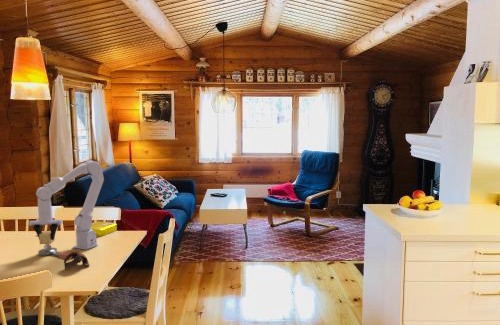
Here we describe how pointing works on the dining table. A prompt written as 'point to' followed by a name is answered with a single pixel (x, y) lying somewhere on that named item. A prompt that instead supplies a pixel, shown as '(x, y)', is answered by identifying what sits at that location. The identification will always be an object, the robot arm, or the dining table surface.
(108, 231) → the element tile
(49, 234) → the wooden cube
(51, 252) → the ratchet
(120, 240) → the dining table surface
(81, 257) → the brown arched piece
